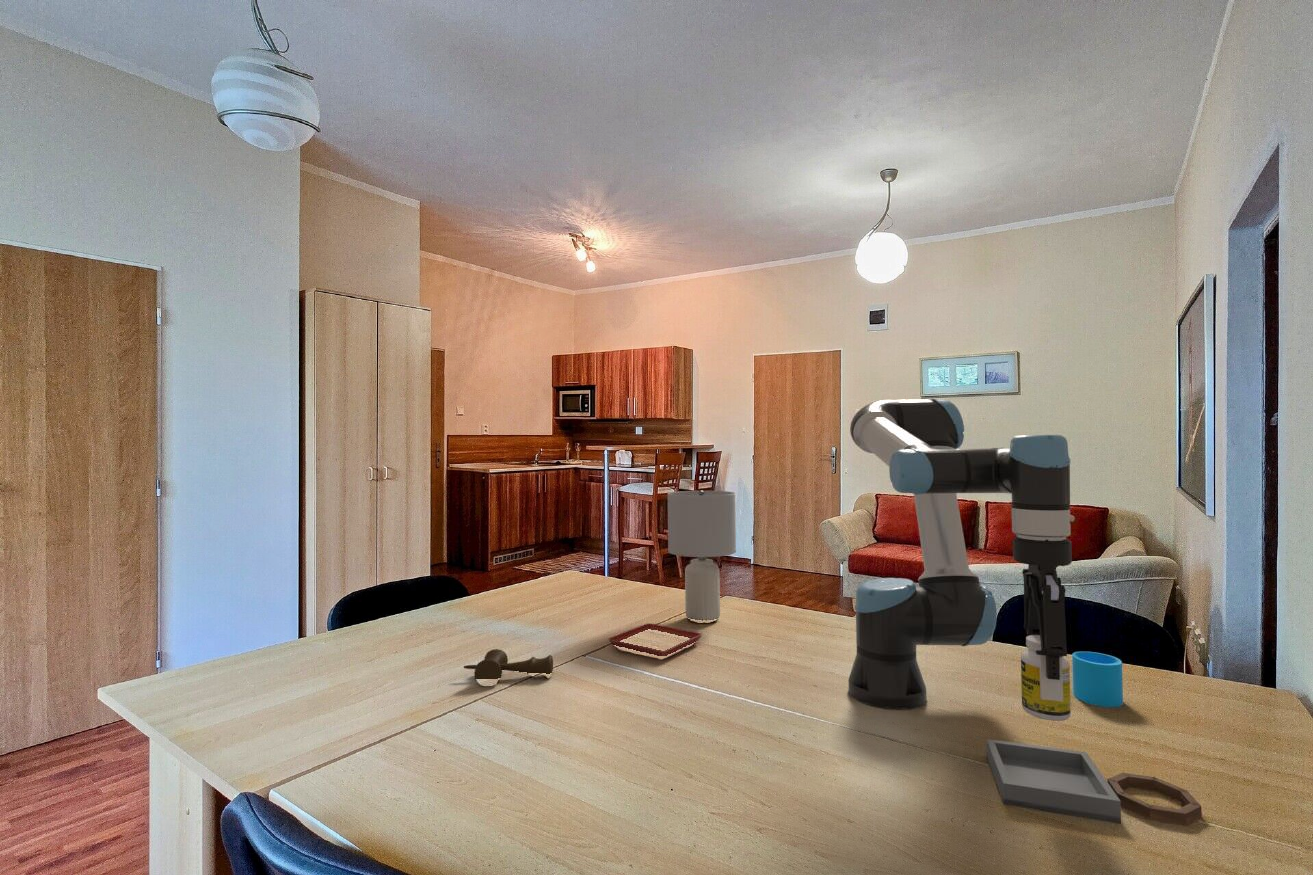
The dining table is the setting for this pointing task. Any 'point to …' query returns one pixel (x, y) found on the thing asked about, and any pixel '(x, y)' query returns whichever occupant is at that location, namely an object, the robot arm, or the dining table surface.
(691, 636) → the plant saucer
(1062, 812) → the tray
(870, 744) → the dining table surface
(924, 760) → the dining table surface
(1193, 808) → the collar socket
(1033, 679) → the pill bottle
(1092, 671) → the mug
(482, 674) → the kendama
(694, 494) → the lamp
